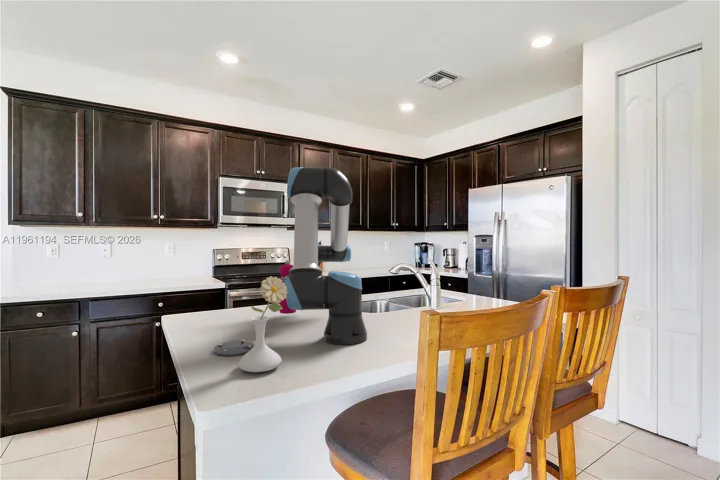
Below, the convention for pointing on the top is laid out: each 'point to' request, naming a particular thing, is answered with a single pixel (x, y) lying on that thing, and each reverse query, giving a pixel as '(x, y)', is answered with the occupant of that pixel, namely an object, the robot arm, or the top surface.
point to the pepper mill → (284, 272)
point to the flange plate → (233, 348)
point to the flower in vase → (260, 354)
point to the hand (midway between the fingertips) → (282, 285)
